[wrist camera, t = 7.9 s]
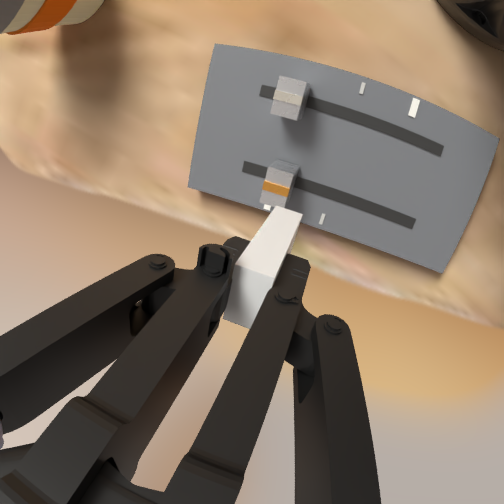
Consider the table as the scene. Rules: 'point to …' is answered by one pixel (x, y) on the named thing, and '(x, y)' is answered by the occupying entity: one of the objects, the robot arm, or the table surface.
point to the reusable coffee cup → (43, 14)
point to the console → (342, 154)
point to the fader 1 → (290, 98)
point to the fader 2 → (279, 183)
